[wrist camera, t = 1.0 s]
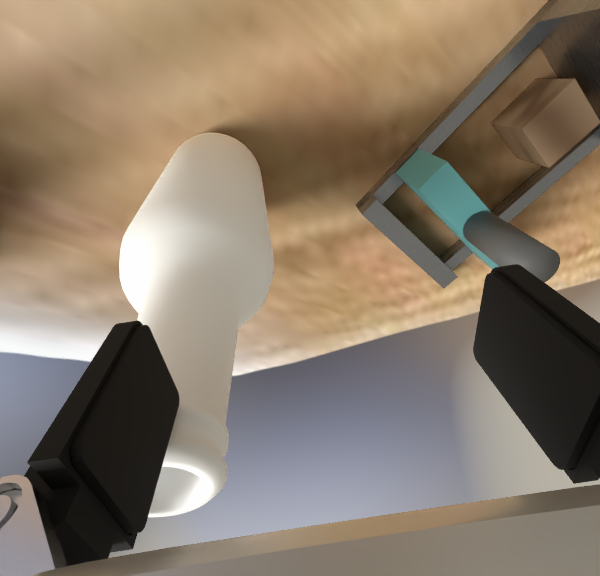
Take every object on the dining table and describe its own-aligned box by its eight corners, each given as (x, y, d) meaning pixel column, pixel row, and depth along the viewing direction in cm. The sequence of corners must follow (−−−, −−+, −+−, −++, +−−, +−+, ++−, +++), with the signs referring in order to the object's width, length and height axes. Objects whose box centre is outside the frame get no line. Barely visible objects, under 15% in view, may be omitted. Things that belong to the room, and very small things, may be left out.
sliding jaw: (418, 148, 33) (504, 187, 21) (496, 234, 39) (600, 305, 27) (395, 172, 34) (464, 223, 22) (474, 253, 40) (564, 330, 28)
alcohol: (265, 215, 38) (307, 527, 13) (182, 222, 37) (66, 568, 13) (256, 127, 33) (298, 372, 8) (160, 133, 32) (-109, 426, 7)
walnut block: (535, 78, 33) (575, 78, 28) (559, 117, 35) (600, 122, 30) (490, 123, 34) (521, 129, 30) (516, 157, 36) (549, 167, 32)
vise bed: (557, -9, 29) (645, -36, 22) (622, 112, 35) (709, 120, 28) (355, 205, 38) (374, 233, 31) (433, 275, 43) (464, 313, 36)
